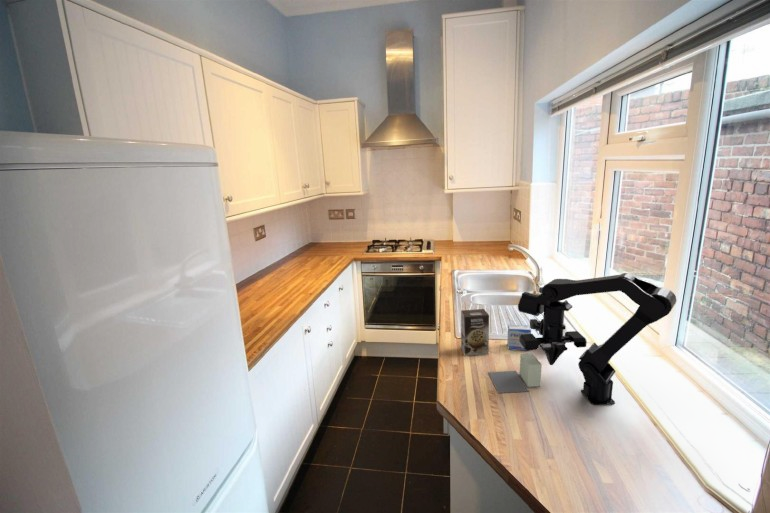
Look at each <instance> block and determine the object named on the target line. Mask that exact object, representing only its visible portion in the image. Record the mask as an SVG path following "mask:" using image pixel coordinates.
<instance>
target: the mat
mask: <svg viewBox="0 0 770 513" xmlns="http://www.w3.org/2000/svg"><path fill="white" fill-rule="evenodd" d="M488 375H489V378H490V379H491V382H492V384H493V386H494V388H495V390H496V391H497V394H511V393H515V394H517V393H529V391H530V390H529V388H528V387H527V386H526V384H525V383H524V381H523V379H522V378H521V376H520V374H519V373H518V372H517V370H505V371H502V370H501V371H488Z"/></svg>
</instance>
